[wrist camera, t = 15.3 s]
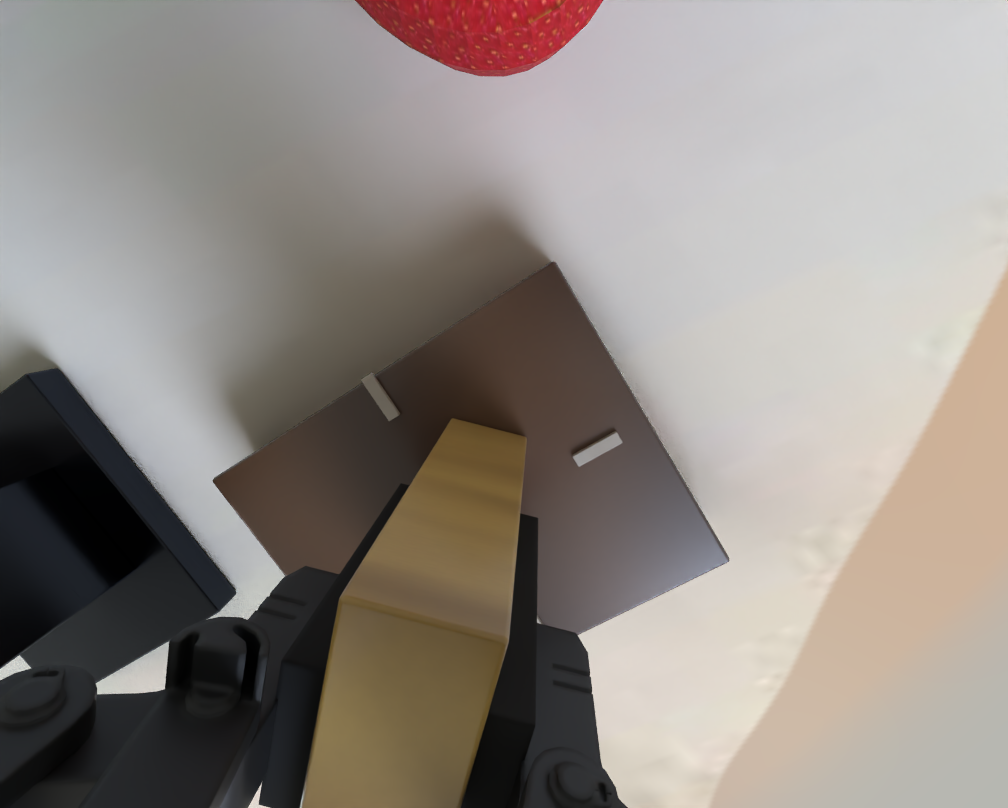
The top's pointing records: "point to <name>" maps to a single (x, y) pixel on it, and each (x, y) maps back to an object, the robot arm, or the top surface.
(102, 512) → the bracket
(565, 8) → the strawberry
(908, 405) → the top surface
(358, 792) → the thumb turn
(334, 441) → the plate
